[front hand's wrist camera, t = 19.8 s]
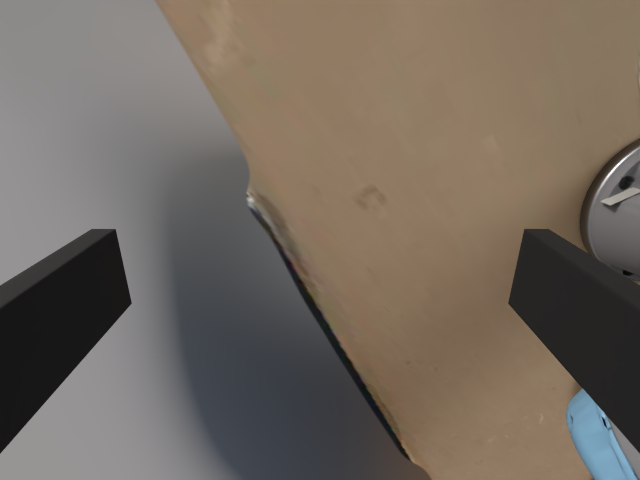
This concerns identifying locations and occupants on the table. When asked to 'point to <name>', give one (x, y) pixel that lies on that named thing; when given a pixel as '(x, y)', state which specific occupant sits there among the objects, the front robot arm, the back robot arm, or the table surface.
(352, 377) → the table surface
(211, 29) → the table surface
